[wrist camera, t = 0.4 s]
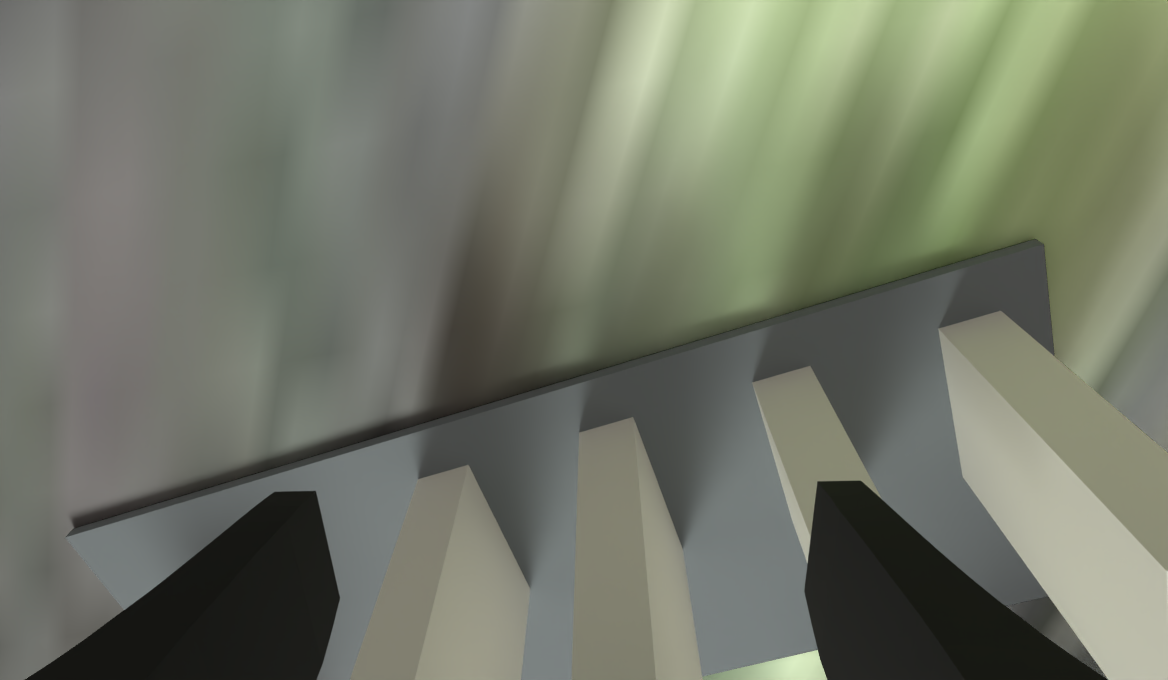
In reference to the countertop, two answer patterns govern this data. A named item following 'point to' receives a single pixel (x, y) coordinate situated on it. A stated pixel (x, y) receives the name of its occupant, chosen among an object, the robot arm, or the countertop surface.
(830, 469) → the cream domino
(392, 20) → the countertop surface
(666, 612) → the cream domino
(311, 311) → the countertop surface
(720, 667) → the mat
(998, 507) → the cream domino
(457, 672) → the cream domino
